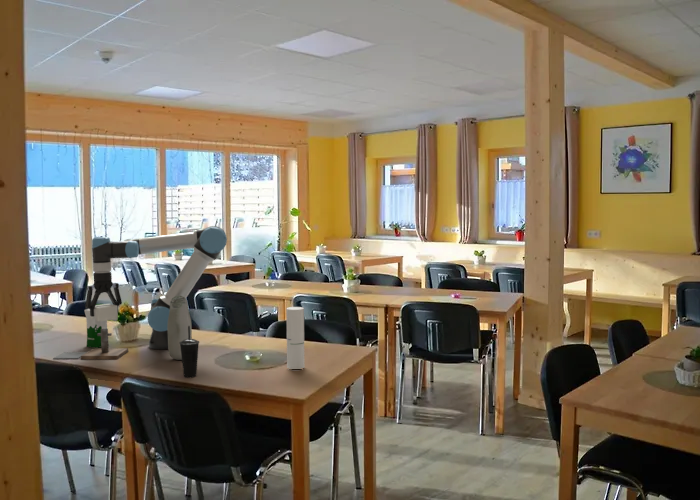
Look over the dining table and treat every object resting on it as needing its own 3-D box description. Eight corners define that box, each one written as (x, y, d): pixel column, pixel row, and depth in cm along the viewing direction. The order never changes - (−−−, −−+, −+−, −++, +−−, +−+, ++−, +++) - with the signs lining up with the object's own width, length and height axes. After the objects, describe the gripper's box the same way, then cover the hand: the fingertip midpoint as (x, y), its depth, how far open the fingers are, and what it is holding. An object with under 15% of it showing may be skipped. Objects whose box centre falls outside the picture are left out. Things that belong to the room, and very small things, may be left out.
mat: (88, 353, 291) (88, 352, 291) (78, 359, 280) (78, 357, 280) (64, 353, 291) (64, 352, 291) (53, 359, 280) (53, 358, 280)
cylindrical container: (295, 364, 268) (294, 306, 266) (308, 367, 263) (307, 308, 261) (283, 368, 262) (282, 308, 260) (296, 371, 258) (295, 310, 256)
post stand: (128, 351, 294) (127, 325, 293) (117, 359, 280) (116, 332, 279) (93, 351, 293) (92, 326, 293) (81, 359, 280) (80, 332, 279)
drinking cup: (201, 373, 256) (200, 324, 254) (197, 378, 248) (196, 328, 246) (182, 373, 255) (181, 324, 254) (178, 378, 248) (176, 328, 246)
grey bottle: (167, 357, 281) (165, 295, 279) (191, 355, 285) (189, 293, 283) (169, 363, 272) (167, 298, 270) (193, 360, 276) (192, 296, 274)
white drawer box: (109, 316, 291) (108, 303, 291) (117, 318, 285) (117, 305, 285) (91, 319, 285) (90, 305, 285) (99, 321, 279) (98, 307, 279)
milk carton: (111, 344, 308) (110, 304, 306) (96, 348, 299) (95, 306, 298) (98, 343, 311) (96, 302, 310) (83, 347, 303) (81, 305, 302)
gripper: (121, 269, 294) (123, 317, 296) (74, 273, 279) (77, 324, 281) (128, 270, 288) (130, 319, 290) (82, 274, 273) (84, 326, 275)
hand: (104, 321), depth 285 cm, fingers closed on white drawer box, 8 cm apart
